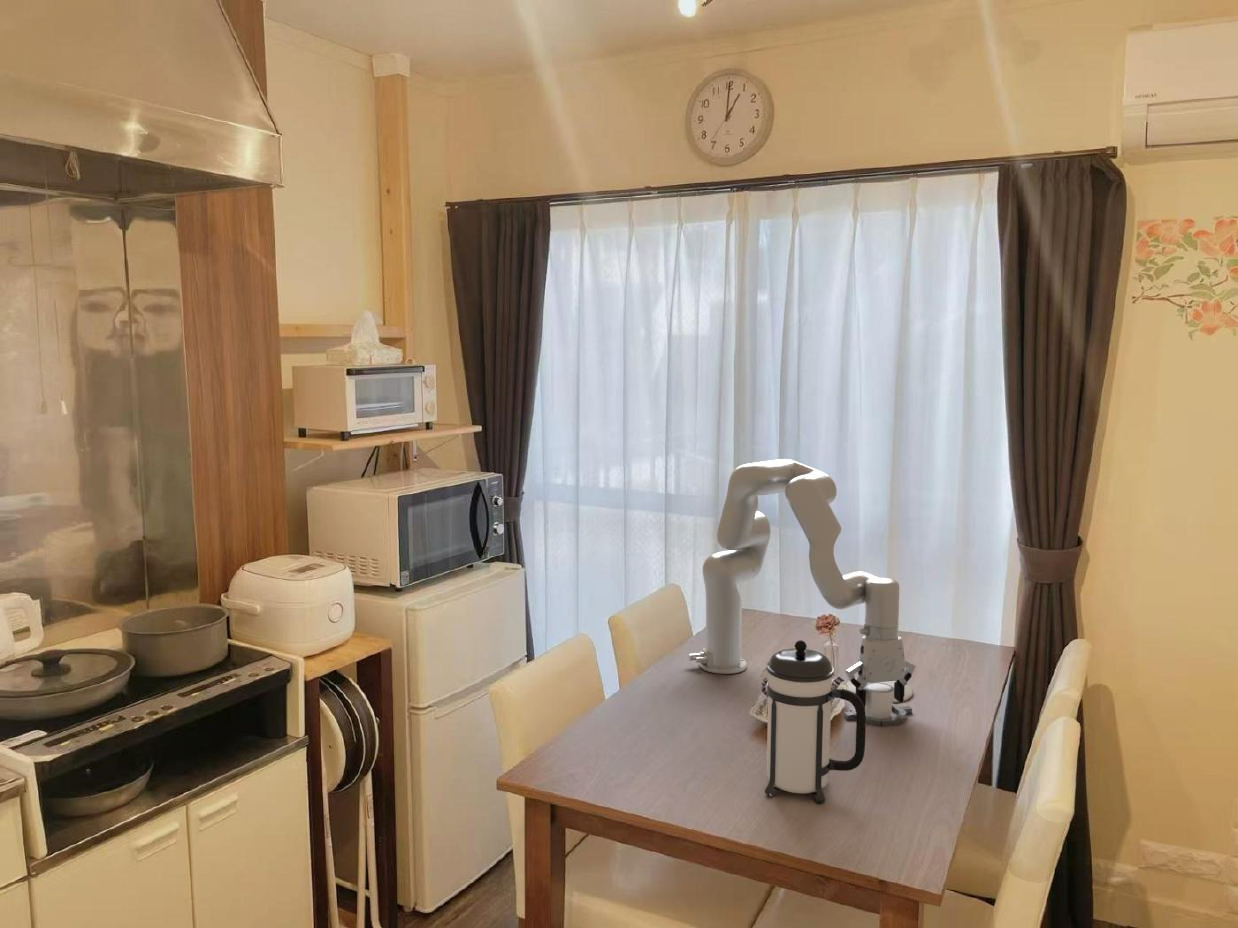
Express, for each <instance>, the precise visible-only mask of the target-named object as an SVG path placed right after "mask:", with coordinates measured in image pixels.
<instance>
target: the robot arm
mask: <svg viewBox="0 0 1238 928" xmlns="http://www.w3.org/2000/svg"><path fill="white" fill-rule="evenodd" d="M728 480H729V481H728V486H727V492H726V496H725V497H726V498H725V501H724V504H723V508H722V511H721V516H720V519H719V522H718V526H717V527H718V528H717V532H716V539H717V543H718V545H719V546H720V547H721V548H722V549H724V550H721V551H716V552H715V553H713V554H710V555H709V556H708V557H707V558H706V559H705V560H704V563H703V565H702V579H703V582H704V587H705V647H703V648H702V651H699V652H698V653H688V655H687V658H688V661H689V662H694V661H695V663H698V664H699V666H700V668H701V669H702V670H703V671H706V672H709V673H712V674H720V675H731V674H738V673H741V672H743V671H745V670H746V669H747V666H748V665H747V661H746V660H745V659H744V658H742V620H743V619H742V615H743V614H742V609H743V608H742V606H743V604H742V598H741V595H740V592H739V590H738V587H737V586H738V585H740V584H742V583H743V584H744V583H746V582H749V581H751V580H754V579H755V578H756V577H758V575H759V574H760V572H761V570H762V568H763V564H764V559H765V558H766V557H765V556H766V553H767V550H768V547H769V543H770V539H771V525H770V521H769V519H768V518H767V516H766V515H765V514H764V513H763V512H761V511H760V510H758V507H759V500H758V499H759V497H758V496H768V495H774V494H781V493H784V494H785V498H786V500H787V503H788V505H789V507H790V508H791V510H792V512H793V515H794V516H795V518H796V520H797V522H798V524H799V525H800V527H801V529H802V531H803V533H804V535H805V538H806V539H807V541H808V544H809V549H808V559H809V561H808V562H809V568H810V569H809V570H810V574H811V577H812V580H813V581H814V584H815V585H816V587H817V589H818V591H819V593H820V594H821V596H822V598H823V600H825V602H826V603H827V604H828V605H829V606H830V607H831V608H834V609H836V610H846V609H848V608H852V607H854V606H857V605H862V604H864V605H865V606H864V609H865V610H864V624H863V625H864V626H863V627H861V628H860V629H859V633H860V635H862V636H861V640H860V645H859V649H858V658H857V663H855V664H854V665H852V666H850V667H849V668H848V669H846V670H845V672H844V673H845V675H846V676H847V678H848V681H850V682H851V683H852V684H853V685H854V686H855V687H856V695H858V696H859V698H860V699H861V700H862V702H863V704H864V707H865V706H866V690H864V688H865V686H866V685H867V684H868V682H869V683H878V682H888V681H897V682H895V683H894V698H895V699H896V700H898V701H899V702H898V703H904V701H903V697H904V691H905V686H906V685H908V681H909V680H911V678H912V674H914V671H915V670H916V665H914V664H913V663H911V662H909V661H907V660H906V659H905V649H904V643H903V638H902V637H901V636H900V635H899V623H900V622H899V621H900V620H899V618H900V617H899V615H900V585H899V582H898V580H896V579H893V578H889V577H885V576H884V577H883V576H880V577H879V576H877V575H874V574H871V573H869V572H866V571H862V570H856V571H851V572H849V573H845V574H842V573H841V570H840V569H839V567H838V565H837V562H836V559H835V554H834V553H835V552H834V550H835V549H834V548H835V544H836V542H837V540H838V537H839V536H840V534H841V532H842V526H841V524H840V522H839V520H838V519H837V516H836V515H835V513H834V511H833V509H832V508H831V505H830V504H831V503H833V502H834V501H835V499H836V496H837V492H838V490H837V486H836V483H835V481H834V480H833V478H832V477H831V476H830V475H829V474H827V473H825V472H824V471H821V470H818V469H816V468H813V467H811V466H808V465H807V464H803V463H800V462H798V461H795V460H793V459H789V458H788V459H787V458H782V459H781V458H780V459H779V458H778V459H772V460H763V461H759V462H751V463H745V464H742V465H739V466H738V467H736V468H735V469H734V470H733V471H732V472H731V475H730V477H729V479H728ZM856 673H857V675H858V677H855V674H856ZM855 678H857V679H855Z"/></svg>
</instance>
